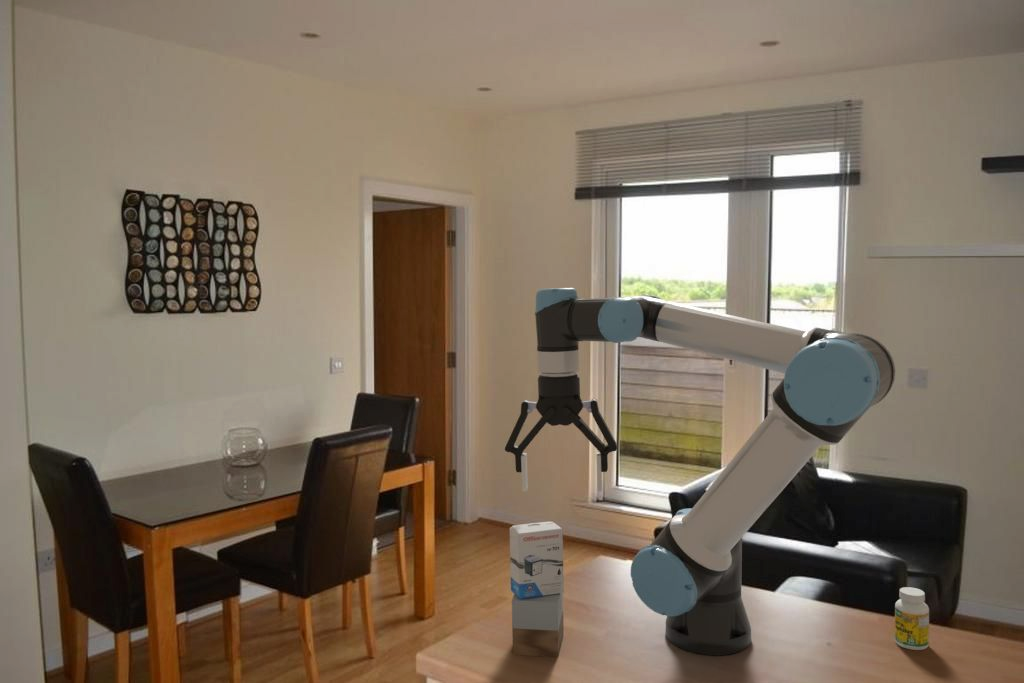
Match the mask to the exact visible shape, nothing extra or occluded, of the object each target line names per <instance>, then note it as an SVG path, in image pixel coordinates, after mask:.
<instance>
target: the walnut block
mask: <svg viewBox="0 0 1024 683" xmlns="http://www.w3.org/2000/svg"><path fill="white" fill-rule="evenodd" d="M511 628H512V627H511ZM564 631H565V630H564V611H563V612H562V616H561V621H560V625H559V629H558V631H553V630H535V629H517V628H512V633H511V634H512V655H516V654H520V655H521V656H530V655H535V656H534V657H544V656H546V657H547V658H549V657H550V658H559V656H560V652H561V648H562V645H561V644H563V642H564V641H563V640H564V637H565V636H564ZM520 655H519V656H520Z"/></svg>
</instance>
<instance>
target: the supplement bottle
mask: <svg viewBox="0 0 1024 683" xmlns="http://www.w3.org/2000/svg"><path fill="white" fill-rule="evenodd" d="M898 591H899V599H898V600H897V601H896V602H895V604H894V640H895V643H896V644H897V645H898V646H900V647H901V648H904V649H906V650H911V651H912V650H913V651H922V650H926V649H927V648H928V647H929V643H930V636H929V635H930V634H929V633H930V608H929V606H928V604H926V602H925V601H926V594H925V592H924V591H923V590H922V589H919V588H916V587H910V586H909V587H906V586H903V587H901V588H899V590H898Z"/></svg>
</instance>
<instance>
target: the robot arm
mask: <svg viewBox="0 0 1024 683" xmlns="http://www.w3.org/2000/svg"><path fill="white" fill-rule="evenodd" d="M534 315H535V326H536V329H535V330H536V344H537V345H536V347H537V348H536V361H537V362H536V363H537V365H536V366H537V372H538V373H539V374H540V375H538V377H537V385H538V386H537V388H538V389H537V390H538V392H537V393H538V399H537V401H529V400H528V399H524V400H523V401H522V402H521V405H520V414H519V415H518V416H519V417H518V419H517V421H516V423H515V425H514V426H513V430H512V432H511V434H510V436H509V439H508V440H507V443H506V445H505V447H504V450H505V452H506V453H511V454H513V455H514V458H515V459H514V460H515V461H514V462H515V471H516V473H521V491H522V492H527V491H528V489H529V475H528V474H529V473H528V454H527V452H524V451H525V449H526V448H527V447H528V446H529V445H530V444H531V442H532V441H533V440H534V438H536V436H537V435H538V433H539V432H541V430H542V428H543V427H544V426H545V425H546V424H548V425H550V426H551V427H553V426H554V427H555V426H559V425H560V426H570V425H571V424H573V425H574V426H575V427H576V428H577V429H578V430H579V431H580V432H581V433H582V434H583V435H584V436H585V438H586V439H587V441H589V442H590V443H591V445H593V447H594V448H595V449H596V450H597V451H598V452H596V455H595V456H596V482H597V484H596V485H597V486H596V488H597V489H596V490H597V492H602V491H603V477H602V476H603V473H607V472H608V468H609V466H608V465H609V463H608V461H609V459H608V455H609V454H610V453H612V452H616V451H617V450H618V443H617V442H616V439H615V438H614V436H613V434H612V433H611V431H610V428H609V427H608V425H607V423H606V421H605V419H604V418H603V416H602V414H601V412H600V409H599V402H598V399H596V398H592V399H591V400H585V401H583V400H582V398H581V387H580V386H581V385H580V382H581V381H580V380H581V379H580V378H581V377H580V375H579V374H578V373H577V372H579V370H580V354H579V342H601V343H603V342H605V343H606V342H607V343H614V344H617V343H625V342H627V343H628V342H633V341H635V340H637V338H643V339H646V340H651V341H654V342H659V343H663V344H667V345H672V346H675V347H679V348H683V349H687V350H691V351H695V352H699V353H702V354H705V355H706V354H707V355H710V356H714V357H718V358H722V359H726V360H729V361H730V360H731V361H734V362H738V363H742V364H746V365H750V366H753V367H757V368H761V369H765V370H768V371H773V372H776V373H781V374H783V375H784V377H783V379H782V380H781V381H780V382H779V383H778V385H777V386H776V388H775V389H774V390H773V392H772V393H771V402H772V410H771V411H770V412H769V413H768V415H767V416H766V417H765V418H764V419H763V421H762V422H761V423H760V424H759V425H758V427H757V428H756V429H755V430H754V432H753V433H752V434H751V435H750V437H749V438H748V439H747V440H746V441H745V443H743V445H742V446H741V448H740V449H739V450H738V451H737V452H736V454H734V456H733V457H732V458H731V460H730V461H729V462H728V464H727V465H726V466H725V467H724V469H722V471H721V472H720V474H719V475H718V476H717V478H716V479H714V481H713V482H712V483H711V485H710V486H709V487H708V488H707V490H705V492H704V494H702V496H700V499H698V501H697V502H696V503H695V504H694V506H693V507H692V508H690V507H689V508H683V509H678V511H676V513H675V515H674V516H673V517H672V518H671V519H670V520H669V521H668V522H667V523H666V525H665V526H664V528H663V529H662V530H661V531H660V533H659V534H658V535H657V536H656V537H655V539H654V540H653V541H652V542H651V543H650V544H649V545H646V546H643V547H642V548H641V549H639V551H638V552H637V554H636V555H635V556H634V557H633V560H632V562H631V564H630V578H631V580H632V587H633V589H634V592H635V593H636V595H637V597H638V598H639V599H640V601H642V603H643V604H644V605H645V606H646V607H647V608H649V609H650V610H651V611H653V613H654V612H655V613H656V614H658V615H661V616H665V617H666V619H665V636H666V638H667V640H669V642H671V644H673V645H675V646H676V647H679V648H680V649H681V650H685V651H688V652H692V653H695V654H701V655H710V656H724V655H731V654H736V653H740V652H742V651H744V650H746V649H747V648H748V647H749V646H750V645H751V643H752V628H751V627H752V626H751V623H750V620H749V617H748V615H747V611H746V607H745V605H744V601H743V599H742V574H743V572H742V571H743V570H742V569H743V566H742V565H743V564H742V562H743V555H742V554H743V537H744V536H745V534H746V533H747V532H748V531H749V530H750V529H751V528H752V527H753V525H754V524H755V523H756V521H757V520H758V519H760V517H761V516H762V515H763V514H764V512H765V511H766V510H767V509H768V508H769V507H770V505H771V504H772V503H773V502H774V501H775V500H776V499H777V497H778V496H779V495H780V494H781V493H782V492H783V491H784V489H785V488H786V487H787V486H788V485H789V483H790V482H791V481H792V480H793V479H794V477H796V475H797V474H798V473H799V472H800V471H801V469H803V467H805V465H806V464H807V463H808V462H809V460H810V459H811V458H812V457H813V456H814V455H815V453H816V452H818V450H819V449H820V448H821V446H830V445H833V446H834V445H837V444H839V443H840V442H841V441H842V440H843V438H844V437H845V436H846V435H847V434H848V433H849V432H850V430H851V429H852V428H853V427H854V426H855V425H856V424H857V422H858V421H859V420H860V419H861V418H862V416H863V415H864V414H865V413H867V411H869V409H870V408H871V407H873V406H875V405H877V404H879V403H880V402H881V401H882V400H884V399H885V398H886V396H888V394H889V393H890V391H891V389H892V388H893V385H894V382H895V378H896V367H895V362H894V359H893V356H892V354H891V353H890V351H889V350H888V349H887V348H886V346H885V345H884V344H883V343H881V342H880V341H879V340H877V339H875V338H874V337H872V336H869V335H867V334H863V333H856V332H847V331H846V332H844V331H837V330H830V329H827V328H826V329H825V328H821V327H814V328H812V329H810V330H809V331H805V330H801V329H795V328H791V327H786V326H782V325H779V324H778V325H777V324H774V323H773V324H772V323H768V322H764V321H758V320H754V319H750V318H747V317H746V318H745V317H741V316H736V315H733V314H732V315H731V314H727V313H723V312H720V311H719V312H718V311H714V310H709V309H704V308H702V307H701V308H700V307H696V306H692V305H691V306H690V305H688V304H687V305H686V304H682V303H677V302H673V301H667V300H664V299H662V298H661V297H659V296H656V295H651V294H638V295H630V296H629V295H628V296H615V297H603V298H602V297H601V298H600V297H599V298H580V297H579V295H578V292H577V289H576V288H574V287H559V288H557V287H555V288H554V287H553V288H540V289H539V290H538V291H537V292H536V294H535V312H534ZM583 408H584V409H586V411H587V412H588V413H591V415H592V418H593V419H594V422H595V423H596V425H597V427H598V429H599V430H600V433H601V435H602V436H603V438H604V440H605V441H606V443H607V444H605V443H603V441H602V440H601V439H600V438H599V437H598V436H597V434H595V432H594V431H593V430H592V429H591V428H590V427H589V425H588V424H587V423H586V422H585V421H584V420H583V418H582V417H581V416H580V413H581V411H582V410H583ZM534 409H536V410H537V412H538V413H539V415H540V416H541V417H540V418H539V419H538V421H537V422H536V424H535V425H534V426H533V428H531V429H530V431H529V432H528V433H527V434H526V436H525V437H524V439H523V440H522V441H521V442H520V443H519V444H518V445H515V443H516V441H517V439H518V437H519V435H520V434H521V430H522V428H523V427H524V425H525V422H526V420H527V418H528V417H529V414H531V413H532V412H533V411H534Z"/></svg>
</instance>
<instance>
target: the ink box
mask: <svg viewBox="0 0 1024 683" xmlns="http://www.w3.org/2000/svg"><path fill="white" fill-rule="evenodd" d="M563 538H564V537H563V528H562V526H561V527H560V525H558V524H557V523H555V522H553V521H541V522H540V521H539V522H531V523H523V524H515V525H512V526H511V527H509V558H510V560H509V562H510V567H509V568H510V571H509V572H510V591H511V593H512V594H513V595H514V594H515V595H516V596H517V597H518V598H520V599H525V598H531V597H538V596H545V595H552V594H559V593H562V594H563V593H565V591H564V590H565V589H564V588H565V586H564V585H565V584H564V582H565V581H564V578H565V576H564V539H563Z"/></svg>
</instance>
